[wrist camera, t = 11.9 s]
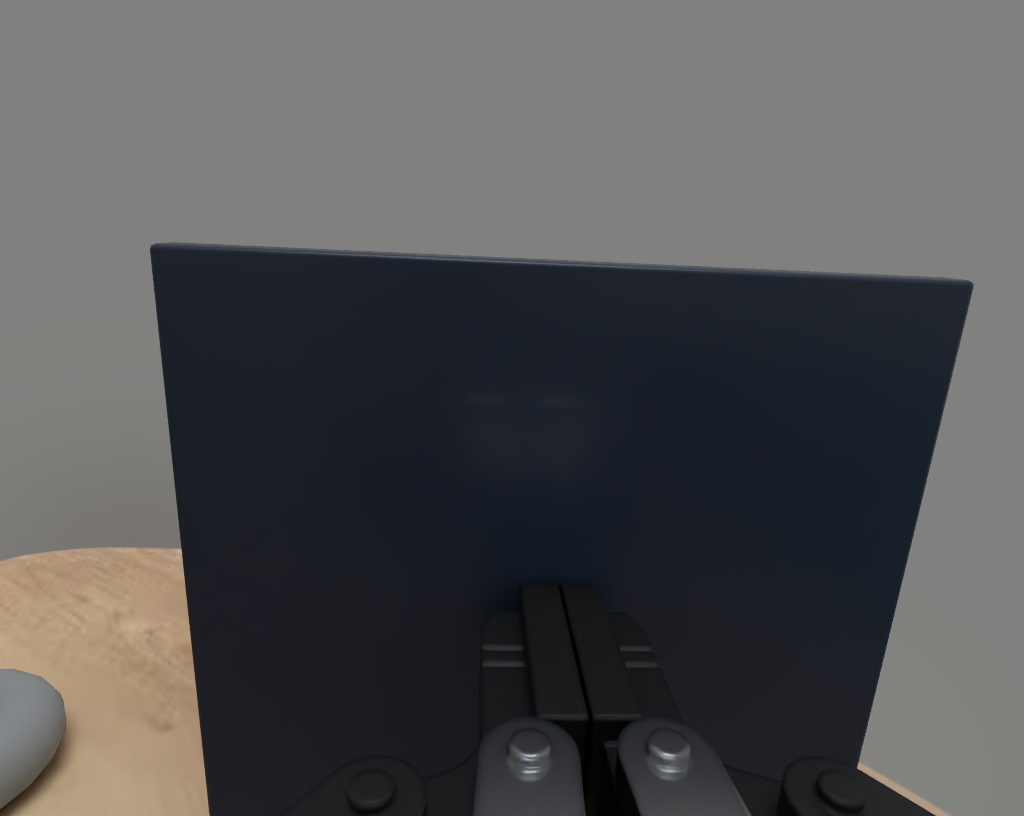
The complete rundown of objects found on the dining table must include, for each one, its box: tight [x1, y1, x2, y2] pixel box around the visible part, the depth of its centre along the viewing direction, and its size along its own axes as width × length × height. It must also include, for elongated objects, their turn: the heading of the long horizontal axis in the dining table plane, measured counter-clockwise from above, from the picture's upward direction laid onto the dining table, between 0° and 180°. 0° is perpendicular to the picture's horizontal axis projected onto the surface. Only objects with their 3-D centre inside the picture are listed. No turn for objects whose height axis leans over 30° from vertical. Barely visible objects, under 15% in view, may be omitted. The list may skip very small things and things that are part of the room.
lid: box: [150, 243, 973, 816], centre depth 13 cm, size 16×14×1 cm
